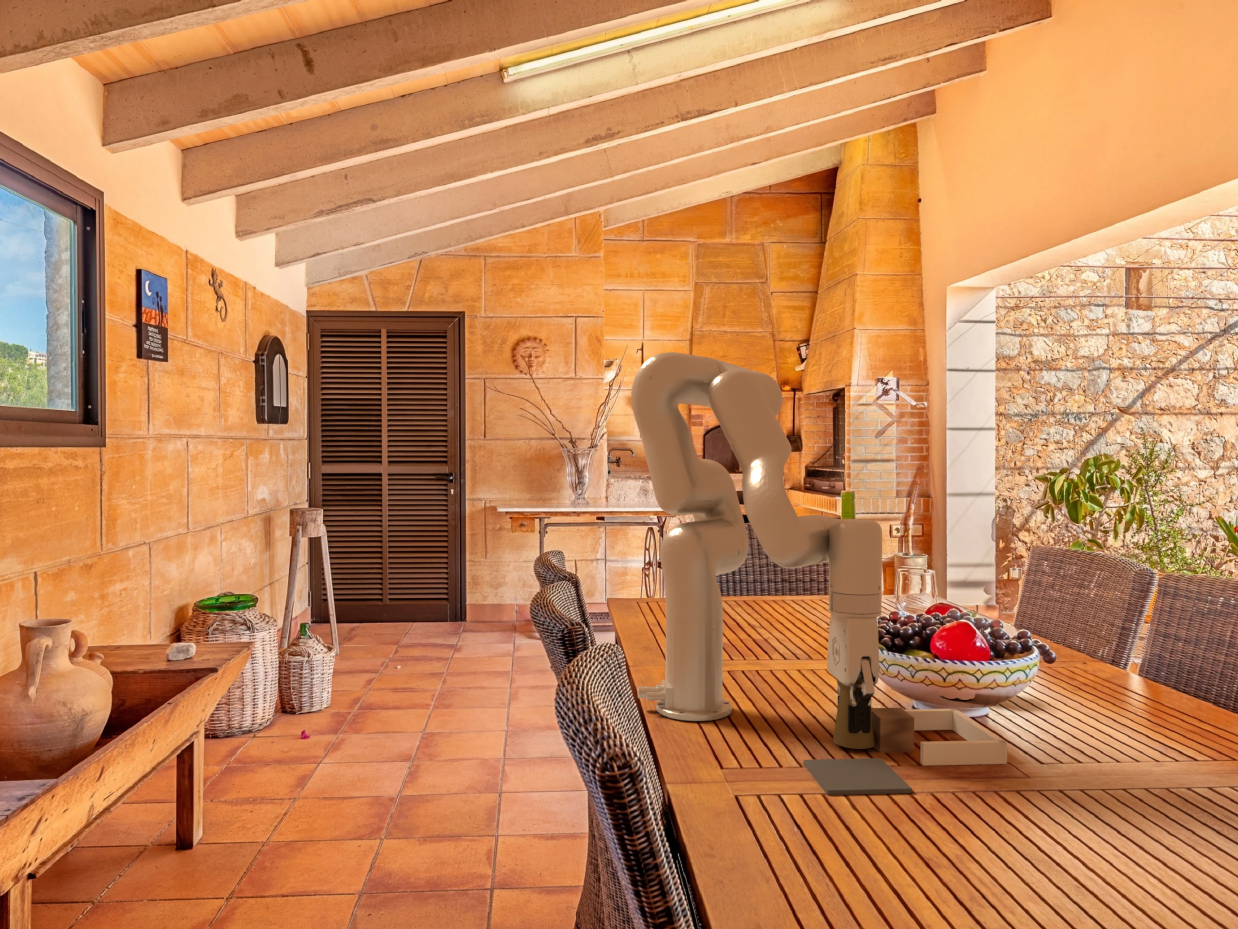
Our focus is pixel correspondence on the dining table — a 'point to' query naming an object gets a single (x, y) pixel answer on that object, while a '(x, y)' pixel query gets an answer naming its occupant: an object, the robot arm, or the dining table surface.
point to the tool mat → (856, 776)
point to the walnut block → (893, 730)
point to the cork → (841, 725)
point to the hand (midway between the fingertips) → (853, 726)
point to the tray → (973, 751)
